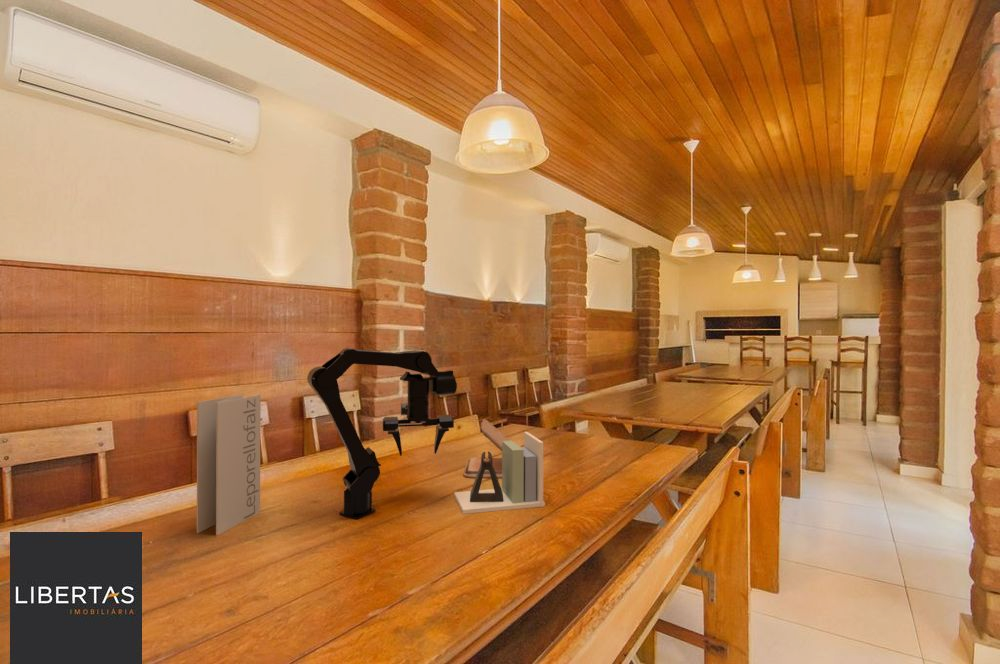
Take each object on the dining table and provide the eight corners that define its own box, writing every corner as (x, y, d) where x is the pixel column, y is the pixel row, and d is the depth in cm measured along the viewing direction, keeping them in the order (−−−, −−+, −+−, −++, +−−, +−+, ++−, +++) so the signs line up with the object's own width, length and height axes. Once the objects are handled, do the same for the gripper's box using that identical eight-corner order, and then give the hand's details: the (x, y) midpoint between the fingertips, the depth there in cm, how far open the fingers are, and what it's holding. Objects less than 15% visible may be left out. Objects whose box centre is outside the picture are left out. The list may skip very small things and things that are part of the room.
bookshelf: (463, 513, 123) (463, 447, 123) (454, 495, 137) (454, 435, 137) (544, 506, 129) (545, 442, 129) (528, 489, 142) (528, 431, 142)
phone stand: (502, 494, 135) (502, 451, 135) (503, 501, 129) (503, 456, 129) (470, 494, 135) (470, 451, 135) (469, 502, 129) (469, 457, 129)
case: (528, 479, 153) (529, 428, 153) (462, 478, 153) (462, 428, 153) (526, 462, 173) (526, 417, 173) (467, 462, 174) (468, 417, 174)
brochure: (217, 535, 110) (217, 402, 110) (196, 533, 111) (196, 402, 111) (260, 512, 124) (260, 394, 124) (241, 510, 125) (241, 394, 125)
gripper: (448, 392, 142) (448, 445, 142) (382, 394, 137) (382, 449, 137) (454, 397, 131) (454, 455, 131) (383, 399, 126) (382, 459, 126)
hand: (418, 454), depth 132 cm, fingers open, 9 cm apart
